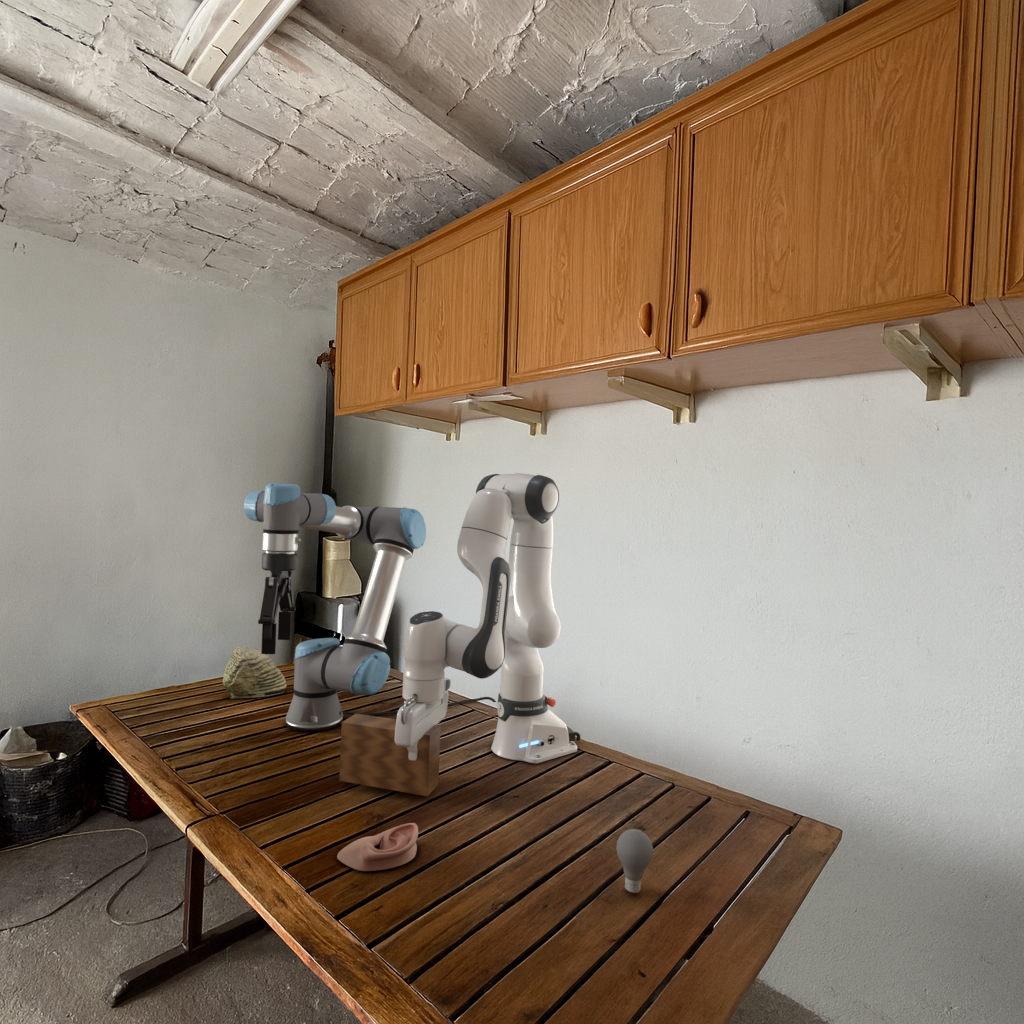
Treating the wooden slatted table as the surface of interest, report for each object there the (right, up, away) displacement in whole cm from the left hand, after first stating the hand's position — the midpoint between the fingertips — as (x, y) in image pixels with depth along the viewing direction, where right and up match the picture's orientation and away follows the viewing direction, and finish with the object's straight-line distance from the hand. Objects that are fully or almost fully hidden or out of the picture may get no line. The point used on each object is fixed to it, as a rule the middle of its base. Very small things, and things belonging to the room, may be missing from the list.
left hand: (276, 646), depth 142 cm
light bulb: (+73, -33, -37) cm, 88 cm away
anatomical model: (+29, -31, -29) cm, 52 cm away
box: (+26, -29, -4) cm, 39 cm away
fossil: (-28, -27, +56) cm, 68 cm away
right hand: (+33, -22, -6) cm, 40 cm away
